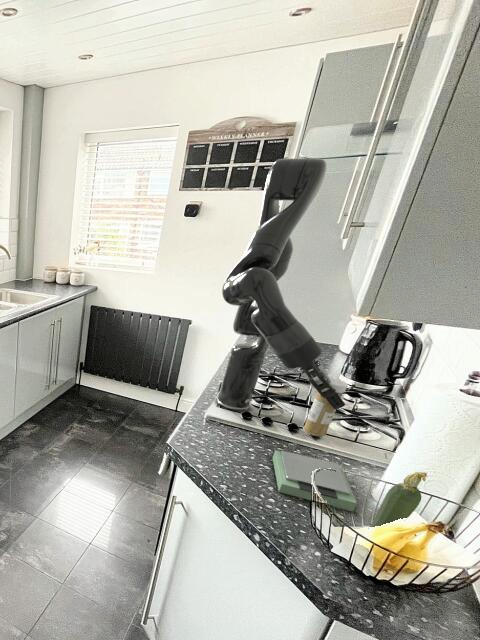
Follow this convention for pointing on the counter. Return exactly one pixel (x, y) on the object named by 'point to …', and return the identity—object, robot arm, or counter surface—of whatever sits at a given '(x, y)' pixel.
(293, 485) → the scale
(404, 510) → the vegetable
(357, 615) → the counter surface
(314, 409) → the sprinkles bottle
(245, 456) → the counter surface
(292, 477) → the pan
